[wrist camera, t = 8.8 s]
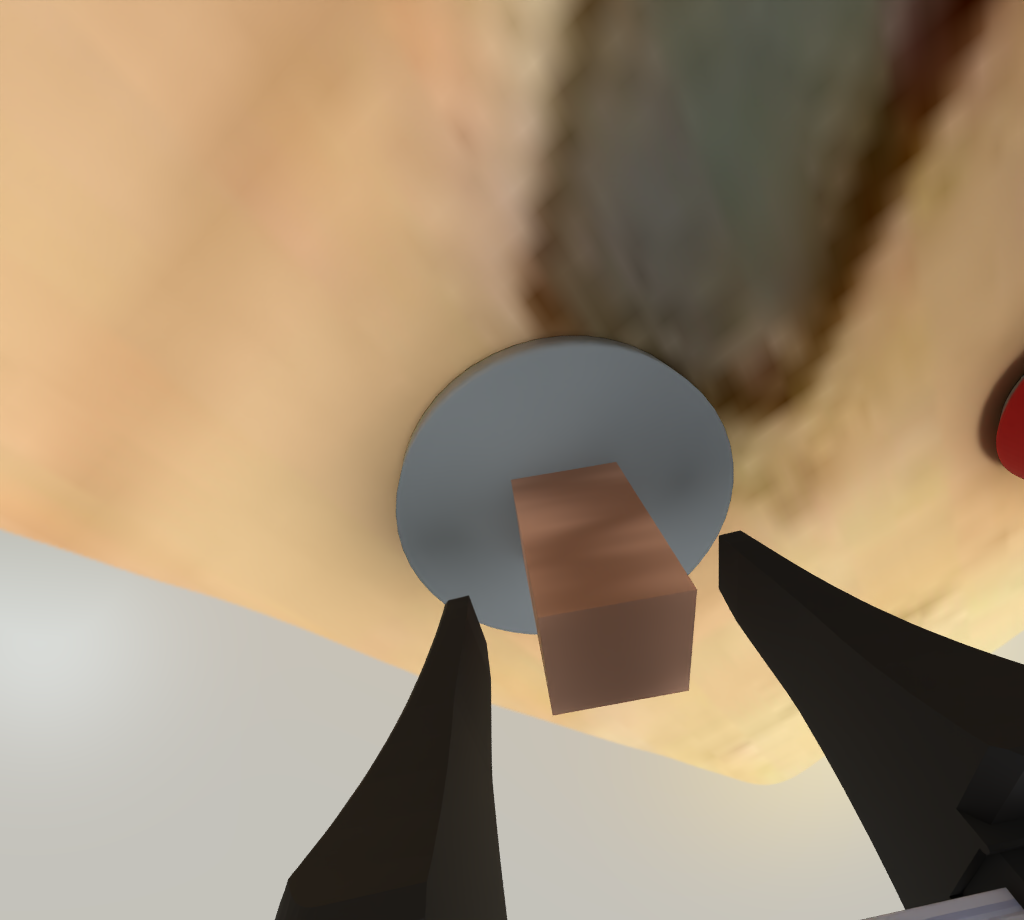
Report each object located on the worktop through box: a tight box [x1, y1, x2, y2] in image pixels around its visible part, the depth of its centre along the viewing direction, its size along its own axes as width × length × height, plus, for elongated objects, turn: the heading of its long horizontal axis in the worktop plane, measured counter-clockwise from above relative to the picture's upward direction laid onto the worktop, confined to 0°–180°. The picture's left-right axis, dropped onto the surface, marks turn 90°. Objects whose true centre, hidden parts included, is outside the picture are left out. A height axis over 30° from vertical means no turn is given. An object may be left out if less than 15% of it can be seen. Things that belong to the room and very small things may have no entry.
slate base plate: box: [396, 336, 733, 634], centre depth 17 cm, size 12×12×2 cm
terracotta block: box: [511, 462, 697, 715], centre depth 14 cm, size 4×4×6 cm
